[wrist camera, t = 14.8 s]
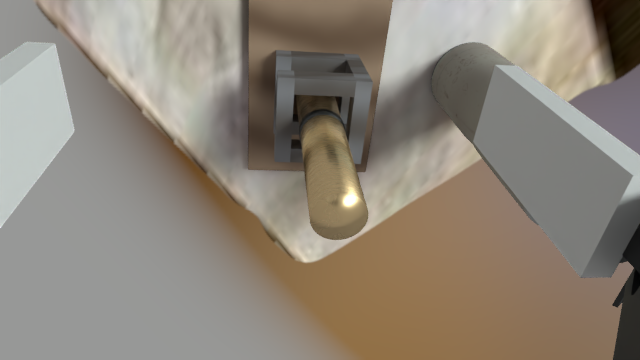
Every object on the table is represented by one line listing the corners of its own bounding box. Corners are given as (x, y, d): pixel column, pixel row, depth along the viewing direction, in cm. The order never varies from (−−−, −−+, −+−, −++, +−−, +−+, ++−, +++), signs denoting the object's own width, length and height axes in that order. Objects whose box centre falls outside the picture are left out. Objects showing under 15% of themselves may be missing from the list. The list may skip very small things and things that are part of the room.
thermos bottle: (475, 119, 55) (632, 295, 32) (418, 97, 53) (540, 268, 29) (515, 57, 51) (725, 204, 28) (454, 30, 49) (629, 165, 26)
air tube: (295, 71, 49) (310, 191, 30) (335, 73, 49) (373, 192, 31) (293, 108, 51) (306, 240, 33) (331, 110, 51) (365, 241, 33)
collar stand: (249, -15, 45) (245, 6, 37) (390, -4, 47) (415, 18, 39) (248, 165, 55) (245, 209, 48) (363, 167, 57) (378, 211, 50)
